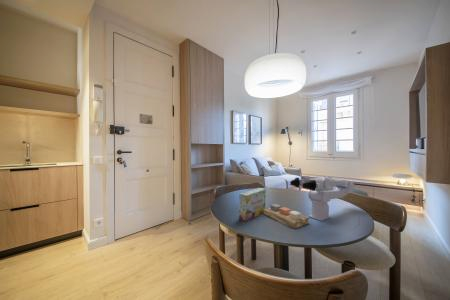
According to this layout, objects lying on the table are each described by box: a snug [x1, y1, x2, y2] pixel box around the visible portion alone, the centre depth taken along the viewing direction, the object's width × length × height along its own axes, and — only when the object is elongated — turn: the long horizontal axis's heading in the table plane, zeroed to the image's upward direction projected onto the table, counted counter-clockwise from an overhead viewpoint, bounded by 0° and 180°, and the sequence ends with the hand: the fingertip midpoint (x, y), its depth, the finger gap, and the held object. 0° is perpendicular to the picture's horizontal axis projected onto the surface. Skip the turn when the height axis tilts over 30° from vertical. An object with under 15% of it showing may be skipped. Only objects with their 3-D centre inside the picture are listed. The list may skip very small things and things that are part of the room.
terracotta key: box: [279, 206, 292, 216], centre depth 102 cm, size 4×4×4 cm
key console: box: [263, 206, 310, 229], centre depth 102 cm, size 12×22×3 cm, turn 30°
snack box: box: [238, 187, 267, 222], centre depth 106 cm, size 21×6×15 cm, turn 137°
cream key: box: [289, 210, 302, 220], centre depth 95 cm, size 4×4×4 cm
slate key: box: [270, 203, 282, 212], centre depth 108 cm, size 4×4×4 cm
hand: (296, 184), depth 93 cm, fingers open, 7 cm apart
